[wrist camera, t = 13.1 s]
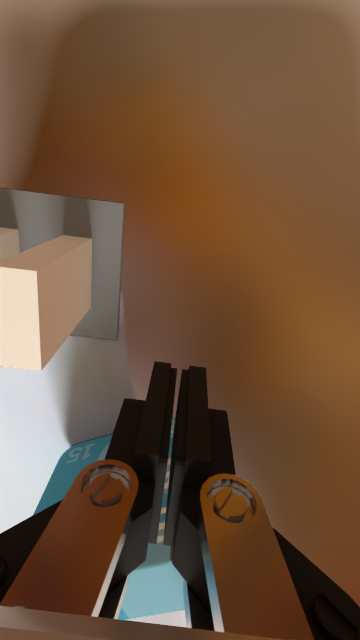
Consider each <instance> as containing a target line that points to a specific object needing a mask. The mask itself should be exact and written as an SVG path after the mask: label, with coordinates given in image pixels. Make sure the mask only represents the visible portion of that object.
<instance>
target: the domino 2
mask: <svg viewBox="0 0 360 640" xmlns="http://www.w3.org/2000/svg"><path fill="white" fill-rule="evenodd" d="M91 286H92V238H84V237H75V236H67V235H62V236H59V237H57V238H54V239H52V240H50V241H47V242H45V243H43V244H40V245H38V246H35V247H33V248H31V249H28V250H26V251H24V252H21V253H19V254H16V255H14V256H12V257H9V258H7V259H4V260H2V261H0V366H3V367H12V368H21V369H29V370H38V371H42V369H43V368H44V367H45V366H46V364H47V363H48V362H49V361H50V359H51V358H52V357H53V355H54V354H55V353H56V352H57V350H58V349H59V348H60V346H61V345H62V344H63V343H64V341H65V340H66V339H67V337H68V336H69V335H70V334H71V332H72V331H73V330H74V328H75V327H76V326H77V325H78V323H79V322H80V321H81V320H82V318H83V317H84V316H85V314H86V313H87V312H88V311H89V309H90V308H91Z"/></svg>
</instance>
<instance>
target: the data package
mask: <svg viewBox="0 0 360 640" xmlns="http://www.w3.org/2000/svg"><path fill="white" fill-rule="evenodd" d="M174 425H175V418H174V419H172V425H171V435H170V446H169V455H168V463H167V471H166V478H165V485H164V493H163V500H162V508H161V515H160V522H159V530H158V537H157V544H149V543H148V549H147V557H146V561H144V562H143V563H142V564H141V565H140V566H138V567H137V568H136V569H135V570H133V571H132V572H131V573H130V577H129V583H128V586H127V589H126V593H125V596H124V599H123V602H122V606H121V609H120V612H119V615H118V620H128V619H134V618H140V617H145V616H151V615H157V614H163V613H168V612H174V611H180V610H185V605H184V595H183V577H182V576H181V574H180V573H179V572H178V571H177V569H176V568H175V567H174V566H173V564H172V561H170V551H171V546H166V545H163V540H164V528H165V517H166V506H167V495H168V484H169V473H170V461H171V450H172V440H173V432H174ZM112 435H113V434H112ZM112 435H108V436H104V437H101V438H97V439H93V440H89V441H85V442H81V443H78V444H76V445H74V446H72V447H71V448H69V449H68V450H67V451H66V452H65V453H64V454H63V455H62V456H61V458H60V459H59V461H58V463H57V465H56V468H55V470H54V472H53V474H52V476H51V478H50V480H49V482H48V485H47V487H46V489H45V491H44V493H43V495H42V497H41V500H40V502H39V504H38V506H37V508H36V510H35V512H34V515H35V514H37V513H39V512H41V511H42V510H44V509H46V508H48V507H50V506H51V505H53V504H55V503H57V502H59V501H60V500H62V499H63V498H64V497H65V495H66V493H67V492H68V490H69V488H70V487H71V485H72V483H73V482H74V480H75V478H76V477H77V475H78V474H79V473H80V472H81V471H82V469H84V468H85V467H87V466H88V465H90V464H92V463H94V462H97V461H100V460H105V456H106V453H107V450H108V447H109V444H110V441H111V438H112Z"/></svg>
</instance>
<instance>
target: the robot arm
mask: <svg viewBox="0 0 360 640" xmlns="http://www.w3.org/2000/svg"><path fill="white" fill-rule="evenodd" d="M176 374H177V369H176V368H171V363H164V362H156V361H155V363H154V367H153V371H152V376H151V380H150V385H149V389H148V394H147V398H146V401H144V400H143V401H142V400H136V399H127V398H125V399H124V402H123V405H122V408H121V411H120V414H119V417H118V420H117V423H116V426H115V429H114V432H113V435H112V438H111V441H110V444H109V447H108V450H107V453H106V456H105V460H100V461H97V462H94V463H92V464H90V465H88V466H87V467H85V468H84V469H82V471H81V472H80V473H79V474H78V475H77V477H76V478H75V480H74V482H73V483H72V485H71V487H70V488H69V490H68V492H67V493H66V495H65V497H64V498H63V499H62V500H60V501H59V502H57V503H55V504H53V505H51V506H50V507H48V508H46V509H44V510H42V511H41V512H39V513H37V514H35V515H33V516H31V517H30V518H28V519H26V520H24V521H22V522H21V523H19V524H17V525H15V526H13V527H12V528H10V529H8V530H6V531H4V532H3V533H1V534H0V640H360V607H359V606H358V605H357V604H356V603H355V602H354V601H353V599H351V597H350V596H349V595H348V594H347V593H345V591H343V590H342V589H341V588H340V587H339V586H337V584H336V583H334V582H333V581H332V580H331V579H330V578H329V577H328V576H327V575H325V574H324V573H323V572H322V571H321V570H320V569H319V568H318V567H317V566H315V565H314V564H313V563H312V562H311V561H310V560H308V558H306V557H305V556H304V555H303V554H302V553H301V552H300V551H299V550H297V549H296V548H295V547H294V546H293V545H292V544H291V543H290V542H288V541H287V540H286V539H285V538H284V537H283V536H282V535H281V534H279V533H278V532H277V531H276V530H275V529H274V528H273V527H272V525H271V522H270V519H269V517H268V514H267V511H266V509H265V506H264V503H263V500H262V498H261V496H260V495H259V493H258V491H257V490H256V489H255V488H254V487H253V485H252V484H251V483H249V482H247V481H246V480H244V479H243V478H241V477H238V476H236V475H235V467H234V460H233V452H232V445H231V438H230V431H229V423H228V416H227V412H226V411H224V410H216V409H208V397H207V379H206V368H203V367H196V366H189V369H188V370H184V369H182V374H181V383H180V389H179V397H178V404H177V411H176V418H175V425H174V432H173V440H172V450H171V461H170V473H169V484H168V495H167V506H166V517H165V528H164V540H163V545H166V546H171V551H170V561H172V564H173V566H174V567H175V568H176V569H177V571H178V572H179V573H180V574H181V576H182V577H183V595H184V605H185V615H186V625H187V628H185V627H176V626H168V625H160V624H152V623H143V622H135V621H126V620H118V615H119V612H120V609H121V606H122V602H123V599H124V596H125V593H126V589H127V586H128V583H129V577H130V573H131V572H132V571H133V570H135V569H136V568H137V567H138V566H140V565H141V564H142V563H143V562H144V561H146V557H147V549H148V543H149V544H157V537H158V530H159V522H160V515H161V508H162V500H163V493H164V485H165V478H166V471H167V463H168V455H169V446H170V435H171V425H172V415H173V405H174V395H175V384H176Z"/></svg>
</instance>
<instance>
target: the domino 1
mask: <svg viewBox="0 0 360 640" xmlns="http://www.w3.org/2000/svg"><path fill="white" fill-rule="evenodd" d="M19 253H20V245H19V230H18V229H10V228H2V227H0V261H2V260H4V259H7V258H9V257H12V256H14V255H16V254H19Z"/></svg>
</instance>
